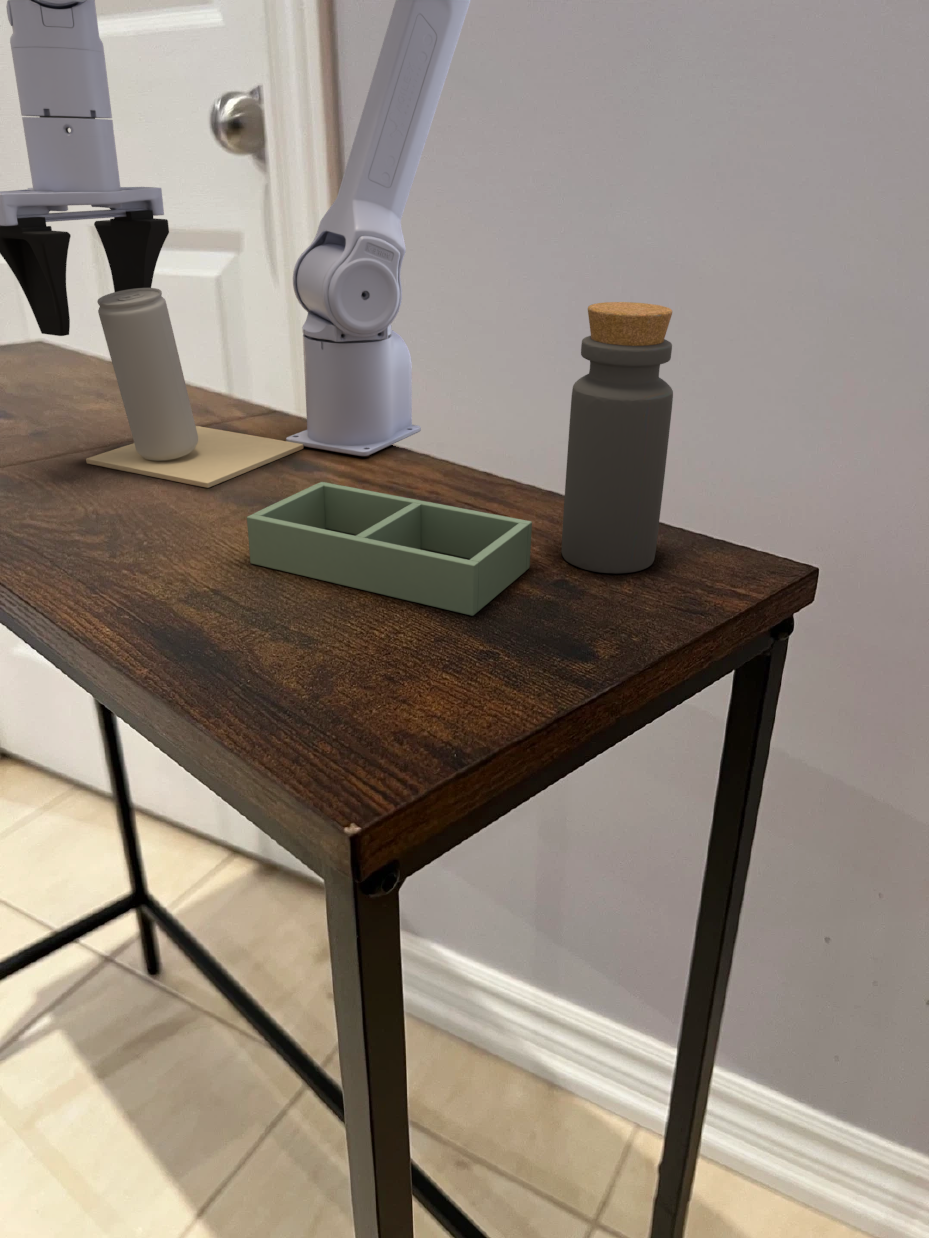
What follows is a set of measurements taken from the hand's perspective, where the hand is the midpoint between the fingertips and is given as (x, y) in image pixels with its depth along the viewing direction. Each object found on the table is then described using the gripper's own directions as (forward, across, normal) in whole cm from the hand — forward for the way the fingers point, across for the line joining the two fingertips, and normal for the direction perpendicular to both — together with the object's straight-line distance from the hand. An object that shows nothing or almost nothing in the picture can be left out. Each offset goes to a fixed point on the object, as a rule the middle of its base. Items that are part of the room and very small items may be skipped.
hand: (96, 326), depth 72 cm
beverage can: (+10, -3, +3) cm, 11 cm away
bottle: (+11, -1, +40) cm, 41 cm away
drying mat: (+10, -5, +4) cm, 12 cm away
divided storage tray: (+10, +7, +29) cm, 32 cm away
